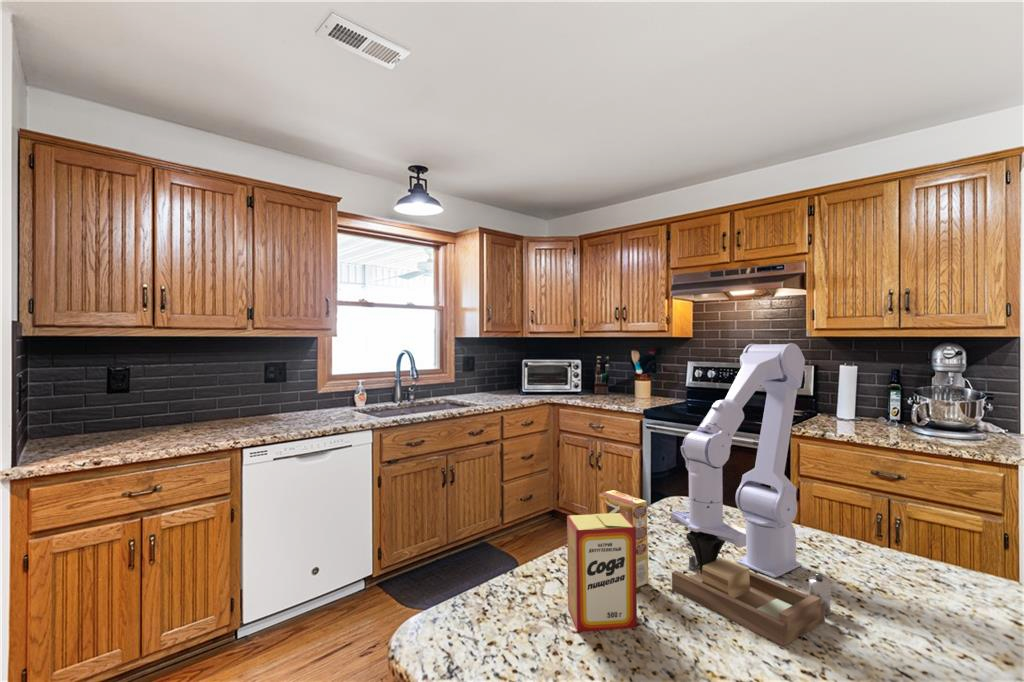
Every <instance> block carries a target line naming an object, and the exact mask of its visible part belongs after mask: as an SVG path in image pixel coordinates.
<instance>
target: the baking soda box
mask: <svg viewBox="0 0 1024 682" xmlns="http://www.w3.org/2000/svg"><path fill="white" fill-rule="evenodd" d="M566 524H567V525H566V532H567V533H566V536H567V537H566V539H567V541H566V542H567V545H566V546H567V547H566V548H567V550H566V551H567V555H566V556H567V610H568V612H569V614H570V618H571V620H572V623H573V625H574V627H575V630H576V633H583V632H584V633H585V632H596V631H613V630H624V629H637V628H638V620H637V619H638V607H637V603H638V602H637V600H638V599H637V597H638V596H637V594H638V593H637V588H636V527H635V526H634V525H633V524H632V523H631V522H630V521H629V520H628V519H627V518H626V517H625V516H624V515H623V514H622V513H608V514H600V513H594V514H577V515H576V514H575V515H574V514H573V515H567V516H566Z"/></svg>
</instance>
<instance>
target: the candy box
mask: <svg viewBox="0 0 1024 682" xmlns="http://www.w3.org/2000/svg"><path fill="white" fill-rule="evenodd" d="M598 496H599V500H598V501H599V514H608V513H622V514H623V515H624V516H625V517H626V518H627V519H628V520H629V521H630V522H631V523H632V524H633V525H634V526H635V527H636V589H637V588H641V586H644V585H645V586H646V584H649V546H648V545H649V543H648V542H649V541H648V540H649V539H648V537H649V536H648V501H647V500H644V499H641V498H639V497H636V496H632V495H630V494H626V493H623V492H620V491H618V490H614V489H613V490H608V491H604V492H600V493H599V494H598Z"/></svg>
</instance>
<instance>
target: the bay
mask: <svg viewBox="0 0 1024 682" xmlns="http://www.w3.org/2000/svg"><path fill="white" fill-rule="evenodd" d="M719 559H720V558H718V557H717V559H716V560H719ZM749 580H750V591H749V592H747V593H745V594H742V595H740V596H738V597H736V598H733V597H731V596H729V595H726V594H724V593H722V592H720V591H718V590H716V589H714V588H712V587H710V586H707V585H705V584H703V583H702V581H703V574H700V572H698V573H695V574H692V575H690V576H688V575H687V574H684V573H682V572H679V571H677V570H676V571H675V570H674V571H673V572H671V589H672V590H673V591H674V592H676V593H678V594H680V595H682V596H684V597H686V598H689V599H690V600H693V601H694V602H695V603H698V604H700V605H702V606H704V607H706V608H708V609H709V610H710V611H711V610H712V611H714V612H715V613H717V614H719V615H721V616H723V617H724V618H725V617H726V618H727V619H728V620H731V621H733V622H735V623H737V624H739V625H740V626H743V627H744V628H747V629H749V631H752V632H754V633H756V634H757V635H760V636H762V637H764V638H766V639H768V640H769V641H772V642H774V643H775V644H777V645H779V646H781V647H785V646H787V645H788V644H790V643H791V642H793V641H795V640H796V639H798V638H800V637H801V636H803V635H805V634H806V633H808V632H810V631H811V630H813V629H814V628H816V627H818V626H820V625H821V624H823V623H824V622H825V621H826V616H825V602H823V601H821V598H820V597H817V596H815V595H811V596H809V594H806V593H804V592H801V591H799V590H796V589H794V588H791V587H789V586H787V585H784V584H781V583H779V582H776V581H774V580H772V579H769V578H767V577H765V576H762V575H759V574H757V573H755V572H752V571H750V576H749Z"/></svg>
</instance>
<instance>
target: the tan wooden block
mask: <svg viewBox="0 0 1024 682" xmlns="http://www.w3.org/2000/svg"><path fill="white" fill-rule="evenodd" d="M718 559H719V560H716V561H714V562H711V563H708V564H706V565H703V569H702V574H703V581H702V583H703V584H705V585H707V586H710V587H712V588H714V589H716V590H718V591H720V592H722V593H724V594H726V595H729V596H731V597H733V598H736V597H738V596H740V595H742V594H745V593H747V592H749V591H750V580H749V576H750V572H751V570H750V568H749V567H746V566H744V565H741V564H739V563H737V561H736V562H735V561H732V560H731V559H727V558H726V557H722V558H718Z"/></svg>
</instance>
